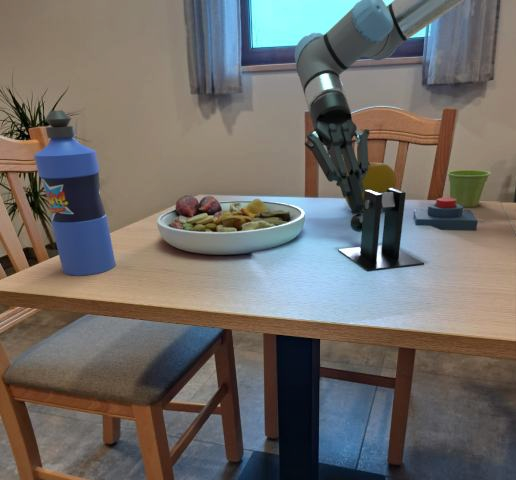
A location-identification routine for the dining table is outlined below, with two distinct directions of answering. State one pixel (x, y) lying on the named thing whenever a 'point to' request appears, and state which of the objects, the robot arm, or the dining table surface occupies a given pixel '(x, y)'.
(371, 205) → the stand
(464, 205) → the plant pot
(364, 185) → the apple
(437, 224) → the button box
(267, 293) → the dining table surface
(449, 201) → the red button
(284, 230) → the bowl
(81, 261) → the water bottle
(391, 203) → the switch lever
